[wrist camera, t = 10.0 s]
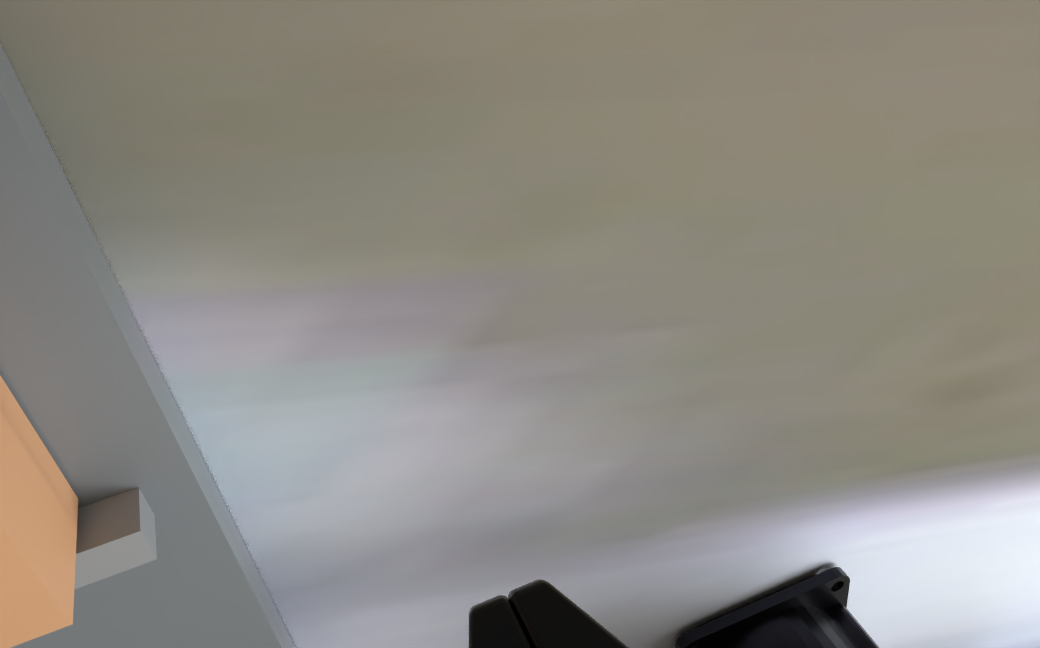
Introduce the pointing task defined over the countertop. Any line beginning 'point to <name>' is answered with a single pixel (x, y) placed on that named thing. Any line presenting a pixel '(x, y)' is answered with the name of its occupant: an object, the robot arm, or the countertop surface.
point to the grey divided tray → (112, 428)
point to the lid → (33, 532)
